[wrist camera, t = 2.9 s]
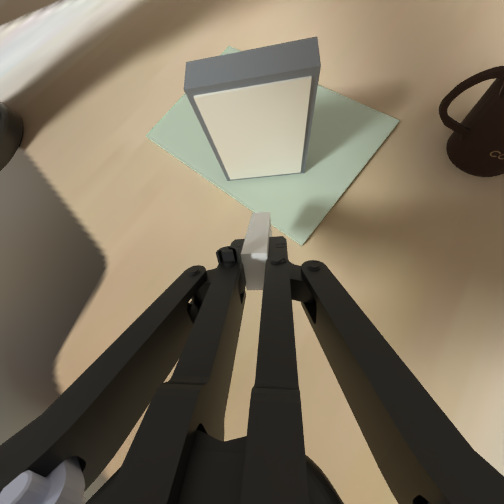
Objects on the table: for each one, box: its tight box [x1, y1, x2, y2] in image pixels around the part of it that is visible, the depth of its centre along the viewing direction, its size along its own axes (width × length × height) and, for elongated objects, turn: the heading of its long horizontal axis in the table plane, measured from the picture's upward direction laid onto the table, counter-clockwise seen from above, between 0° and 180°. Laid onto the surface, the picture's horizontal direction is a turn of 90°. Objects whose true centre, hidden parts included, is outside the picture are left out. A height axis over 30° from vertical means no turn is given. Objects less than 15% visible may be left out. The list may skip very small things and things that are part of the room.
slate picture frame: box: [184, 37, 321, 181], centre depth 19 cm, size 3×9×11 cm, turn 91°
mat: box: [146, 46, 400, 246], centre depth 26 cm, size 26×18×1 cm
